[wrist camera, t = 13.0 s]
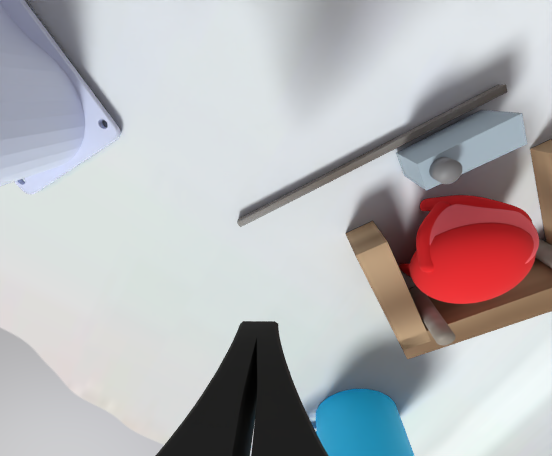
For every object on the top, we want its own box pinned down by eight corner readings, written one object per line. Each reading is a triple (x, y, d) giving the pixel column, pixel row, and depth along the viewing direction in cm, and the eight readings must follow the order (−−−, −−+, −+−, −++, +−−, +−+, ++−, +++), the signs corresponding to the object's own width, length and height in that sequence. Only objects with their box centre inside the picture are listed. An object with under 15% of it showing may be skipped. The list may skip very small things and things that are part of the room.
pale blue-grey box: (396, 152, 17) (424, 167, 14) (481, 109, 16) (535, 114, 13) (404, 175, 18) (433, 195, 14) (487, 135, 17) (540, 146, 13)
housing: (238, 218, 20) (227, 252, 15) (557, 54, 15) (659, 39, 11) (326, 352, 25) (335, 403, 21) (581, 260, 20) (656, 301, 16)
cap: (460, 164, 15) (415, 270, 14) (587, 213, 13) (546, 332, 13) (405, 208, 22) (374, 277, 21) (483, 241, 21) (453, 315, 20)
